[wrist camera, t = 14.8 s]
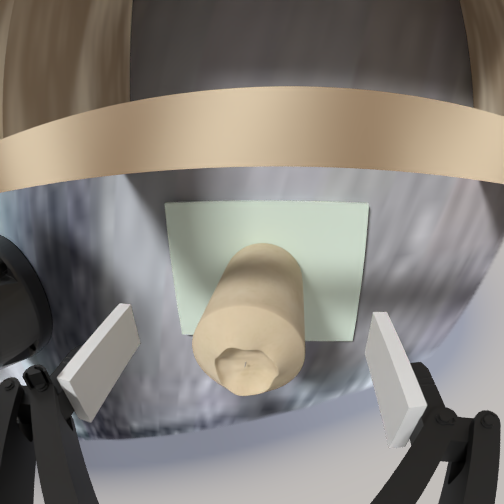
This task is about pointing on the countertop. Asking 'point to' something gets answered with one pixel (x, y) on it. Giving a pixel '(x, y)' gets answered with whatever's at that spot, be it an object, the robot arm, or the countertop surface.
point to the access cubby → (221, 109)
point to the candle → (254, 322)
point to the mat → (277, 233)
